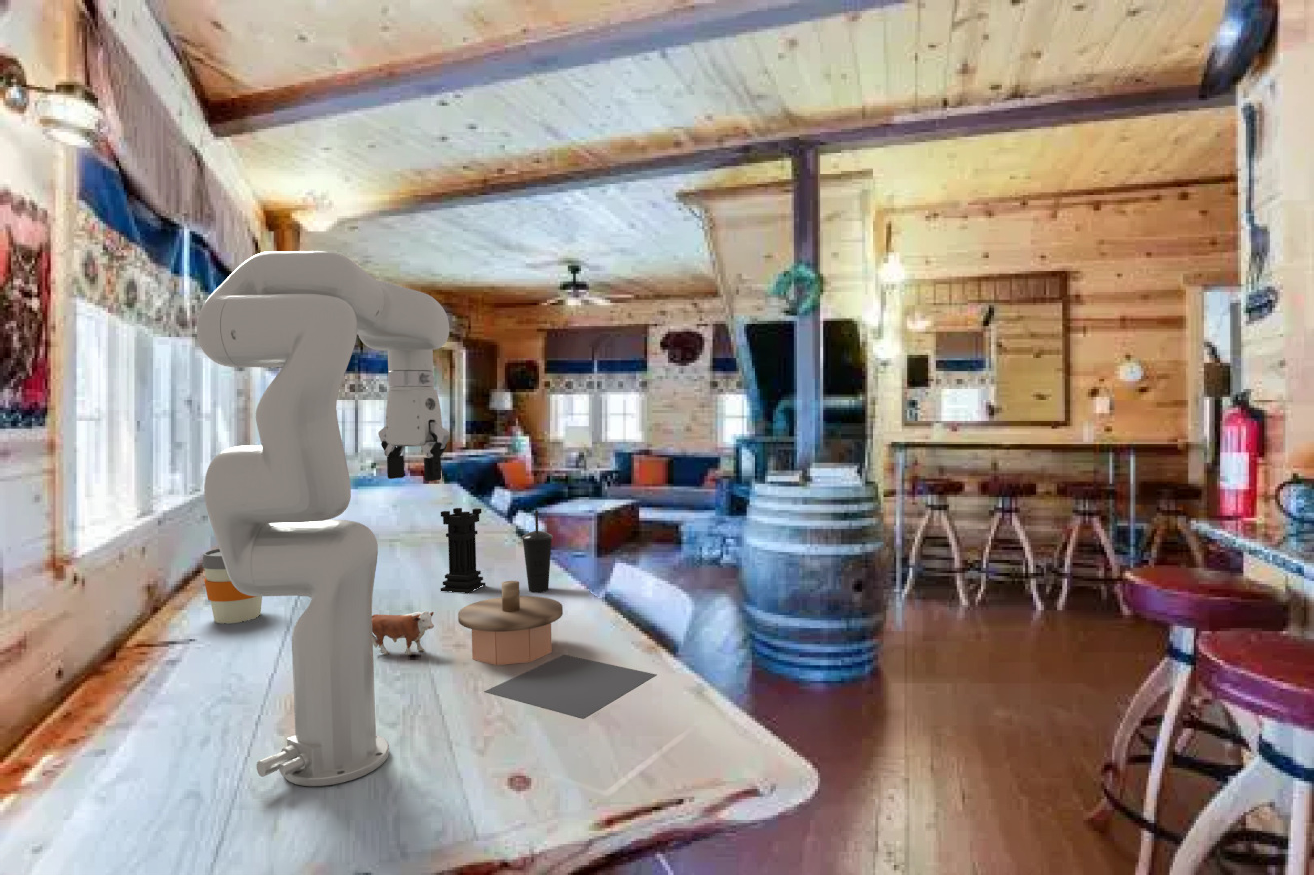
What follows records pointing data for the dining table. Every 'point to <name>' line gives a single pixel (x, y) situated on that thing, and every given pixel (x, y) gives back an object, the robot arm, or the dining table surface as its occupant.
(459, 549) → the chess piece
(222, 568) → the reusable coffee cup
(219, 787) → the dining table surface
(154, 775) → the dining table surface
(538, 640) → the bowl
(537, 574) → the drinking cup
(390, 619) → the bull figurine
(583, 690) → the mat
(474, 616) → the lid
